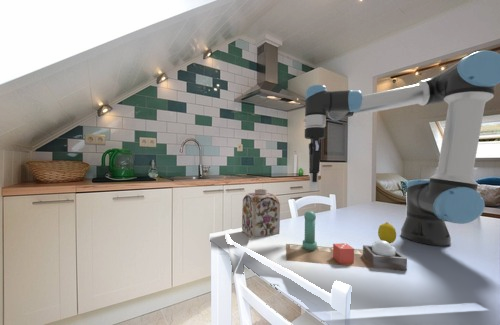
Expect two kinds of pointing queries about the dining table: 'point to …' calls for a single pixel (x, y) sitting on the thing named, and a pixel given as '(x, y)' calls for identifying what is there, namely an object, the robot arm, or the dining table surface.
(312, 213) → the pawn
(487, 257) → the dining table surface
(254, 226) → the decorative jar
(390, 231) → the lemon
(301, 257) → the board
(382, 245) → the dome
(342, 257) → the red cube
